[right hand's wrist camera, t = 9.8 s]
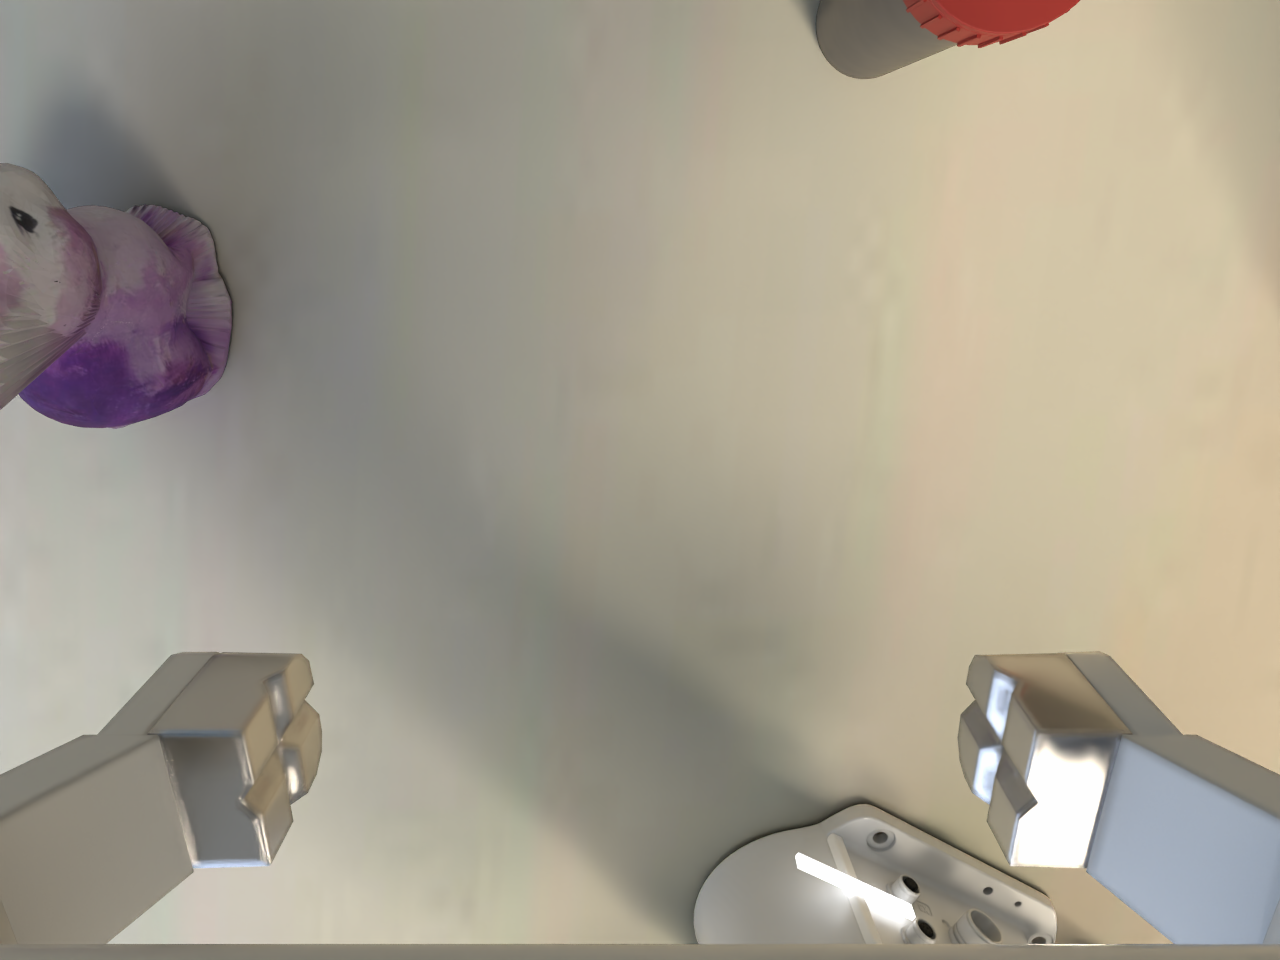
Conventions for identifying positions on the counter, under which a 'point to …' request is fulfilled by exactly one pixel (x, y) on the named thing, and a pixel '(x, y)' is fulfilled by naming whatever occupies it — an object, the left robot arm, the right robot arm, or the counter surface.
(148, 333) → the figurine
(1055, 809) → the right robot arm
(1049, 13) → the lid
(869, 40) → the cylinder
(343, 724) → the counter surface
